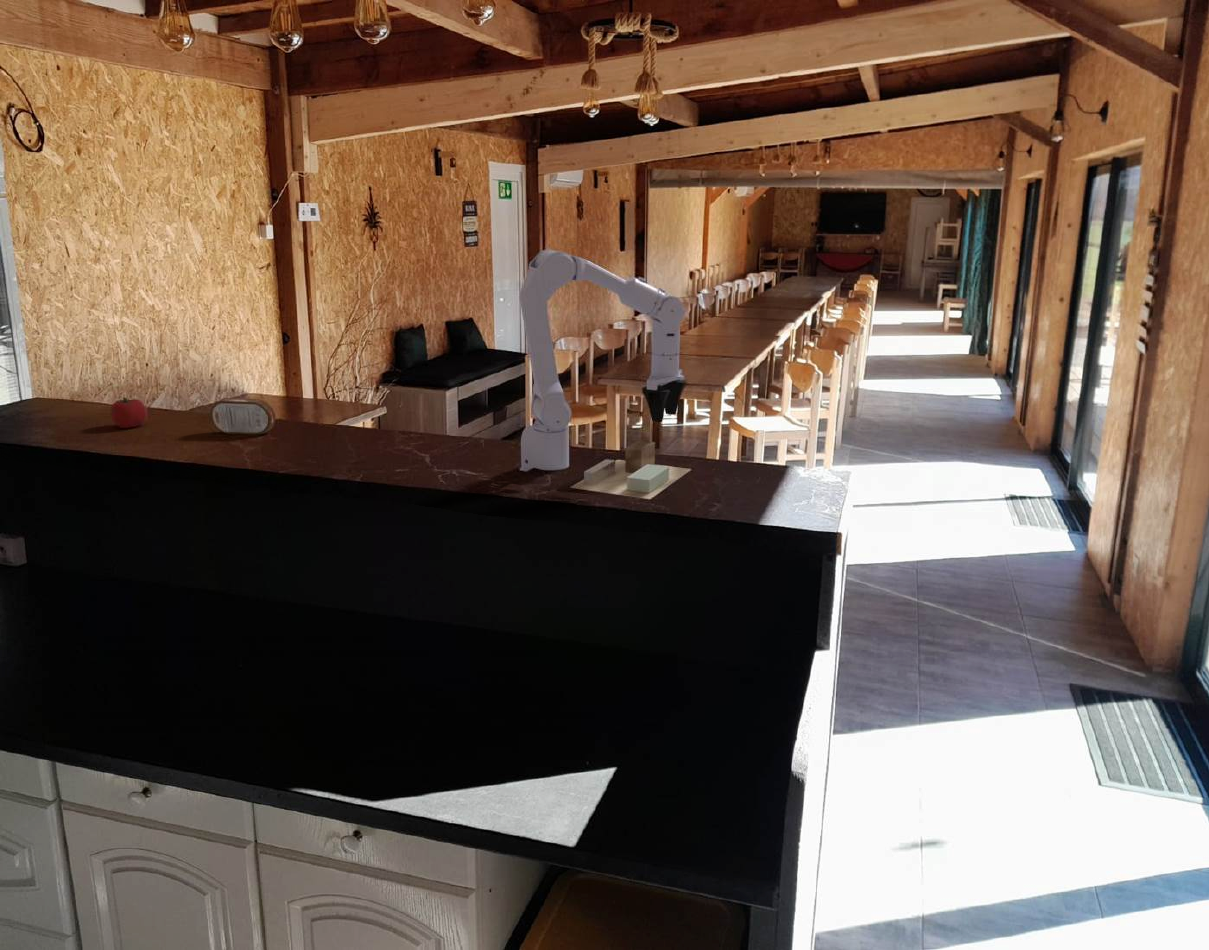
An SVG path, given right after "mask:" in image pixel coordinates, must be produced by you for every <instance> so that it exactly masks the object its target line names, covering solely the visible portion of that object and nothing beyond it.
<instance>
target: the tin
mask: <svg viewBox="0 0 1209 950" xmlns="http://www.w3.org/2000/svg"><path fill="white" fill-rule="evenodd" d="M210 421H211V422H212V425H213V426H214V427H215V428H216V430H218V431H219V432H221V433H224V434H230V435H253V436H257V435H259V436H260V435H263V434H265V433H267V432H268V431H271V430H272V429H273V428H274V426H275V423H276V413H275V411H274V408H273V407H272V406H271V404H269V403H268V402H267V401H265V400H264V399H261V398H245V397H242V398H241V397H224V398H221V399H219V400H218V401H217V402H215V403H214V404H213V405H212V407H211V409H210Z"/></svg>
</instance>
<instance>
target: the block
mask: <svg viewBox="0 0 1209 950" xmlns="http://www.w3.org/2000/svg"><path fill="white" fill-rule="evenodd" d="M624 450H625V454H624V456H625V472H627V473H634V472H636V471H638V470H639V469H641V468H642V467H644V466H646V465H647V464H650V465H656V464H655V461H656V459H655V458H656V442H654V441H646V440H640V439H639V440H638V441H636V442H634V443H632V444H630V445H629V446H627V447H625V449H624Z"/></svg>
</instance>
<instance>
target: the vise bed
mask: <svg viewBox="0 0 1209 950" xmlns="http://www.w3.org/2000/svg"><path fill="white" fill-rule="evenodd" d="M656 465H657V466H665V467H669V480H667V481H666V482H664V483H663V484H662V485H660V486H659V487H657V488H656V489H654V490H653V491H652V492H650V493H645V492H638V491H631V490H627V477H628V476H630V475H631V474H633V473H627V472H625V460H624V459H616V460H615V473H613V474H612V475H610V476H608V477H607V478H605V479H604V480H602V481H600V482H599V483H597V484H595V485H594V486H593V485H586V484H584V479H582V480H580V481H579V482H577V483H575V484H573V485H571V486H570V487H569V488H570V489H578V490H584V491H585V490H586V491H590V492H591V491H592V492H598V493H604V494H611V495H617V496H618V495H619V496H625V497H632V498H638V499H645V500H651V499H653V498H654V497H656V496H657V495H659V494H660V493H661V492H663V491H664V490H665V489H667V488H668V487H669V486H670V485H672V484H674V483H675V482H676V481H678V480H679V479H681V478H682V477H683V476H685V475H686V474H687V473H689V472H690V471H692V469H691V468H683V467H675V466H669V465H662V464H656ZM570 493H571V494H572V493H573V494H574V492H572V491H570ZM577 494H579V495H581V493H579V492H577ZM584 495H587V496H588V494H586V493H584ZM590 496H593V497H594V494H593V495H591V494H590ZM597 497H599V498H601V496H599V495H597ZM604 498H606V499H608V497H605V496H604ZM610 499H613V500H614V498H613V497H611V498H610ZM617 500H619V501H621V499H620V498H619V499H618V498H617ZM623 501H625V502H627V499H623Z"/></svg>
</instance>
